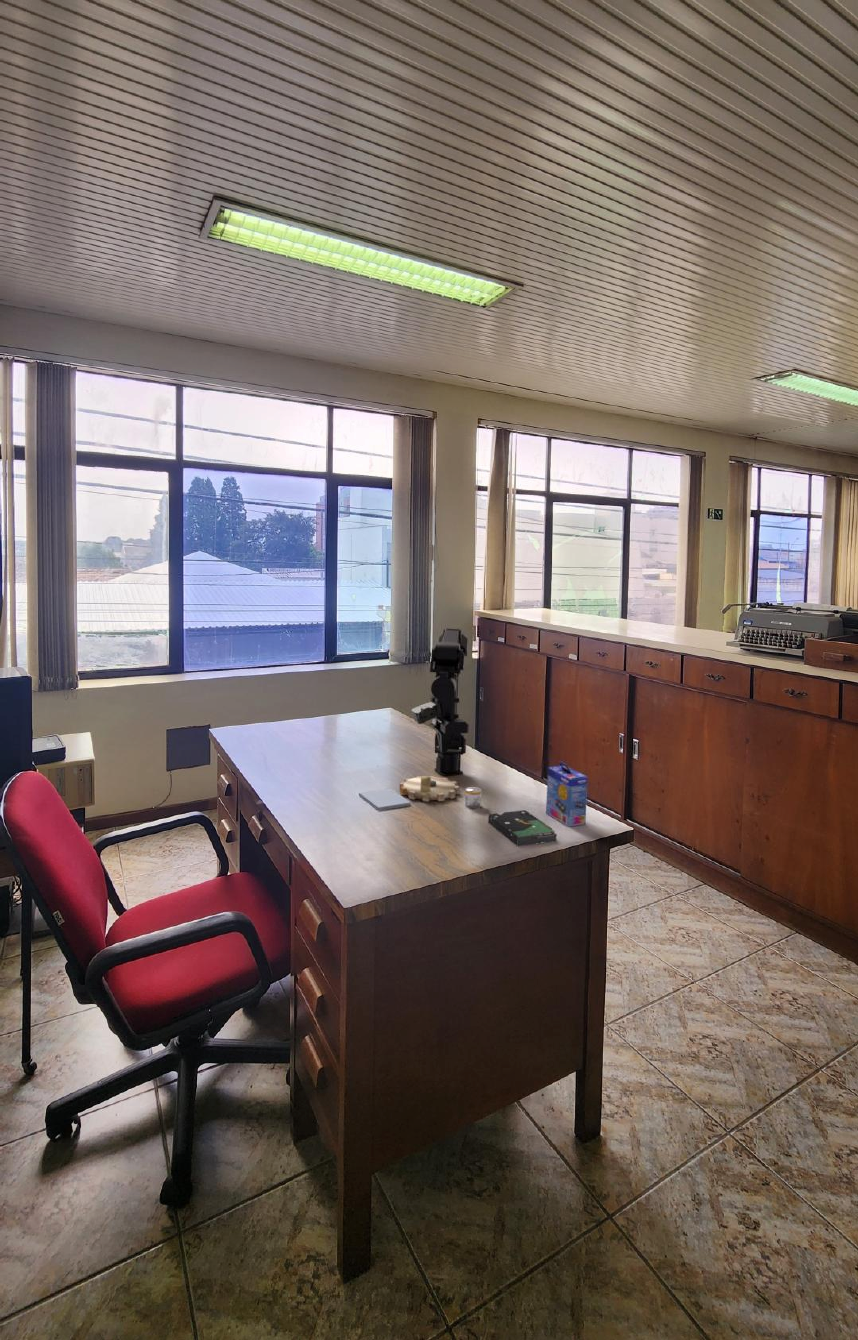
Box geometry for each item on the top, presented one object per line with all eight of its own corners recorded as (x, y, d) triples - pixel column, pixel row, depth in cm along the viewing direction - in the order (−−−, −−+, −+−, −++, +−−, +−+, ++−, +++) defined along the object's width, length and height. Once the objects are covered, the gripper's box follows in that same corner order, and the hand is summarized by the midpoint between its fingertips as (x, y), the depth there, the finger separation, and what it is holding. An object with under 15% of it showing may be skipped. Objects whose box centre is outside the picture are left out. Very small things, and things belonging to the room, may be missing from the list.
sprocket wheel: (407, 779, 192) (408, 761, 191) (463, 785, 188) (464, 766, 188) (392, 797, 176) (393, 778, 175) (452, 804, 173) (453, 784, 172)
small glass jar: (475, 802, 176) (475, 785, 175) (483, 807, 172) (484, 790, 171) (461, 804, 174) (462, 788, 173) (470, 809, 170) (471, 792, 169)
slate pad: (389, 791, 182) (389, 788, 182) (410, 805, 172) (410, 802, 172) (359, 795, 178) (359, 792, 177) (378, 810, 167) (378, 807, 167)
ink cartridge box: (543, 813, 169) (547, 757, 167) (562, 810, 172) (565, 755, 169) (567, 827, 160) (571, 769, 158) (586, 824, 163) (590, 767, 161)
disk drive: (486, 825, 162) (517, 848, 149) (487, 814, 162) (518, 836, 148) (524, 820, 166) (557, 842, 152) (524, 809, 166) (558, 830, 152)
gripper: (404, 687, 177) (403, 745, 179) (427, 701, 160) (425, 764, 162) (444, 686, 181) (442, 743, 183) (470, 699, 163) (468, 762, 165)
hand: (443, 752), depth 173 cm, fingers closed
